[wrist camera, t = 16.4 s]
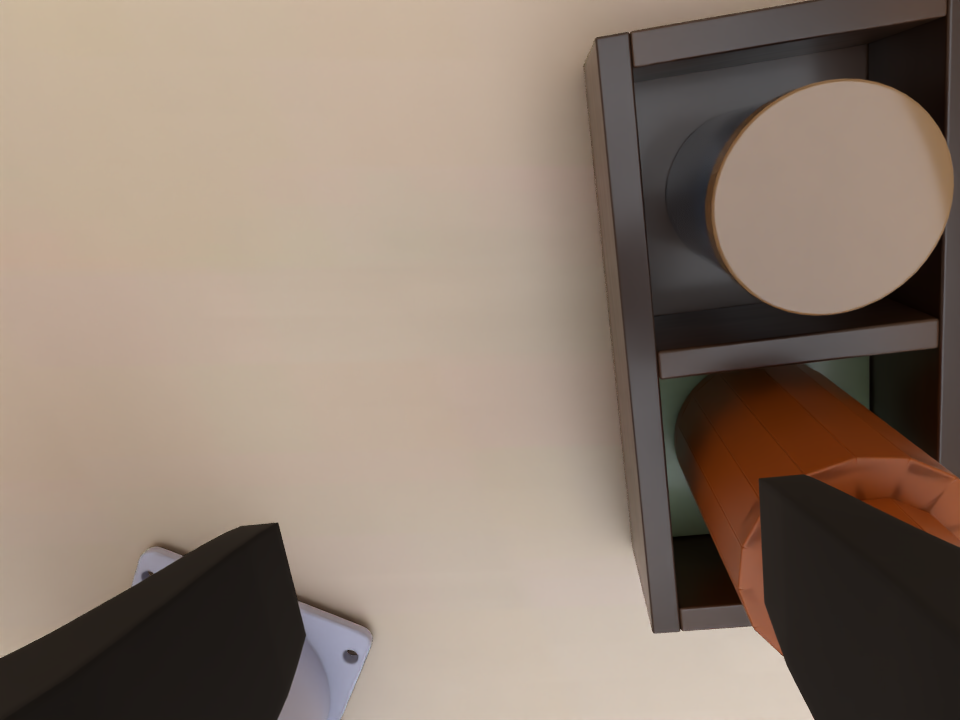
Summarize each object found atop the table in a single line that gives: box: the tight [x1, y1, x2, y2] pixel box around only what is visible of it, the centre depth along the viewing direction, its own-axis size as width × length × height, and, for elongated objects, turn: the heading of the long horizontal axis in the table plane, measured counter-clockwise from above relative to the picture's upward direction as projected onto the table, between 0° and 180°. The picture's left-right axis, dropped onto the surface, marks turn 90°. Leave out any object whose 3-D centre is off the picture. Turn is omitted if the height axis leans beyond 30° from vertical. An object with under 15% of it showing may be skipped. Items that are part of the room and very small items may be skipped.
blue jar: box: [666, 78, 954, 316], centre depth 15 cm, size 4×4×6 cm
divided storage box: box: [583, 0, 960, 633], centre depth 18 cm, size 7×14×4 cm, turn 8°
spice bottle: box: [674, 364, 960, 656], centre depth 16 cm, size 5×5×8 cm
